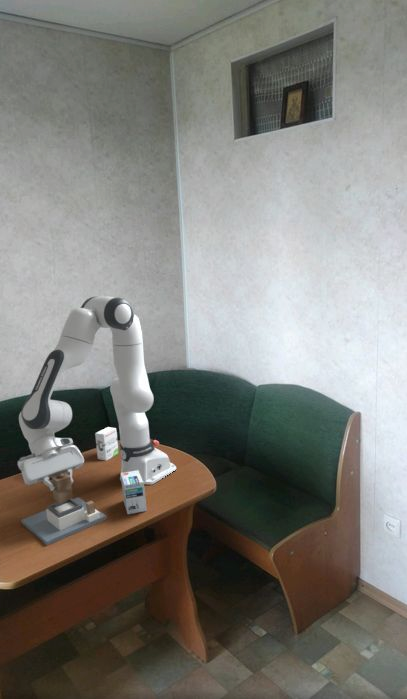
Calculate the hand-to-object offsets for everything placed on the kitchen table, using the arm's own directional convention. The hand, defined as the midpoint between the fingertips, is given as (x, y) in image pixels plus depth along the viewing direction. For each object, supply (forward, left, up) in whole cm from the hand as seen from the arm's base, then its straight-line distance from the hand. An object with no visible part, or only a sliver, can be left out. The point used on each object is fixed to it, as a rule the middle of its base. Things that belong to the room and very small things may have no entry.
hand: (62, 486), depth 171 cm
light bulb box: (-22, +6, -14) cm, 27 cm away
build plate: (0, -3, -13) cm, 14 cm away
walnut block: (0, -1, -4) cm, 4 cm away
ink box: (-39, -39, -14) cm, 57 cm away
